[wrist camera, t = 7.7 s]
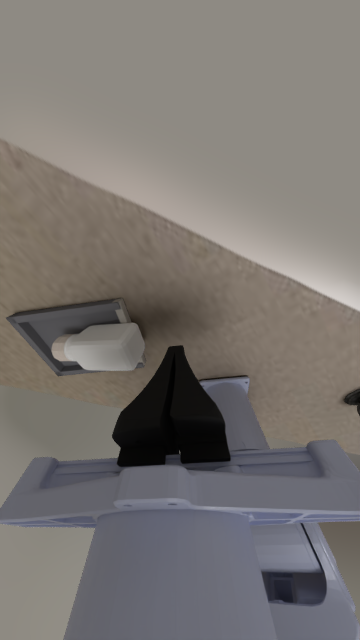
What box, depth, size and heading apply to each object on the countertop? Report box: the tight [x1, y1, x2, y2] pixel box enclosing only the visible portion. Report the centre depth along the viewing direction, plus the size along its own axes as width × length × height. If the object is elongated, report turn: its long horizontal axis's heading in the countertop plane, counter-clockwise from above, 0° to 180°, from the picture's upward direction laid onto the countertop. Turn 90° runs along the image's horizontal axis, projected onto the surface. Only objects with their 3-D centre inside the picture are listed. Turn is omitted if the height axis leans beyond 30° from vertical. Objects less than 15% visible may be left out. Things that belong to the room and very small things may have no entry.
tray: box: [6, 298, 146, 376], centre depth 18 cm, size 10×13×1 cm
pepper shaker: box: [51, 323, 145, 371], centre depth 16 cm, size 4×4×10 cm
